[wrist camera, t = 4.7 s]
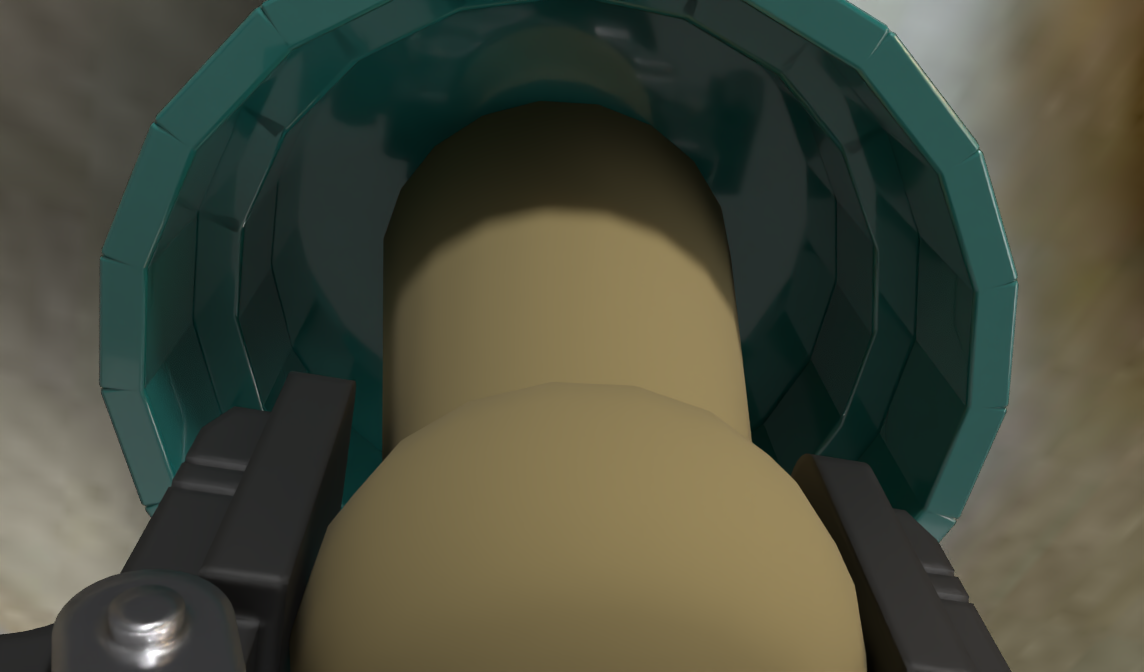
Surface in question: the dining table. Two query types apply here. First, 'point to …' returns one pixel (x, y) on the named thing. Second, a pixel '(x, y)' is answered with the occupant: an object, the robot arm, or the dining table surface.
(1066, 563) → the dining table surface
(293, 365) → the bowl
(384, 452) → the cork
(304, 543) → the robot arm
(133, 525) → the dining table surface
